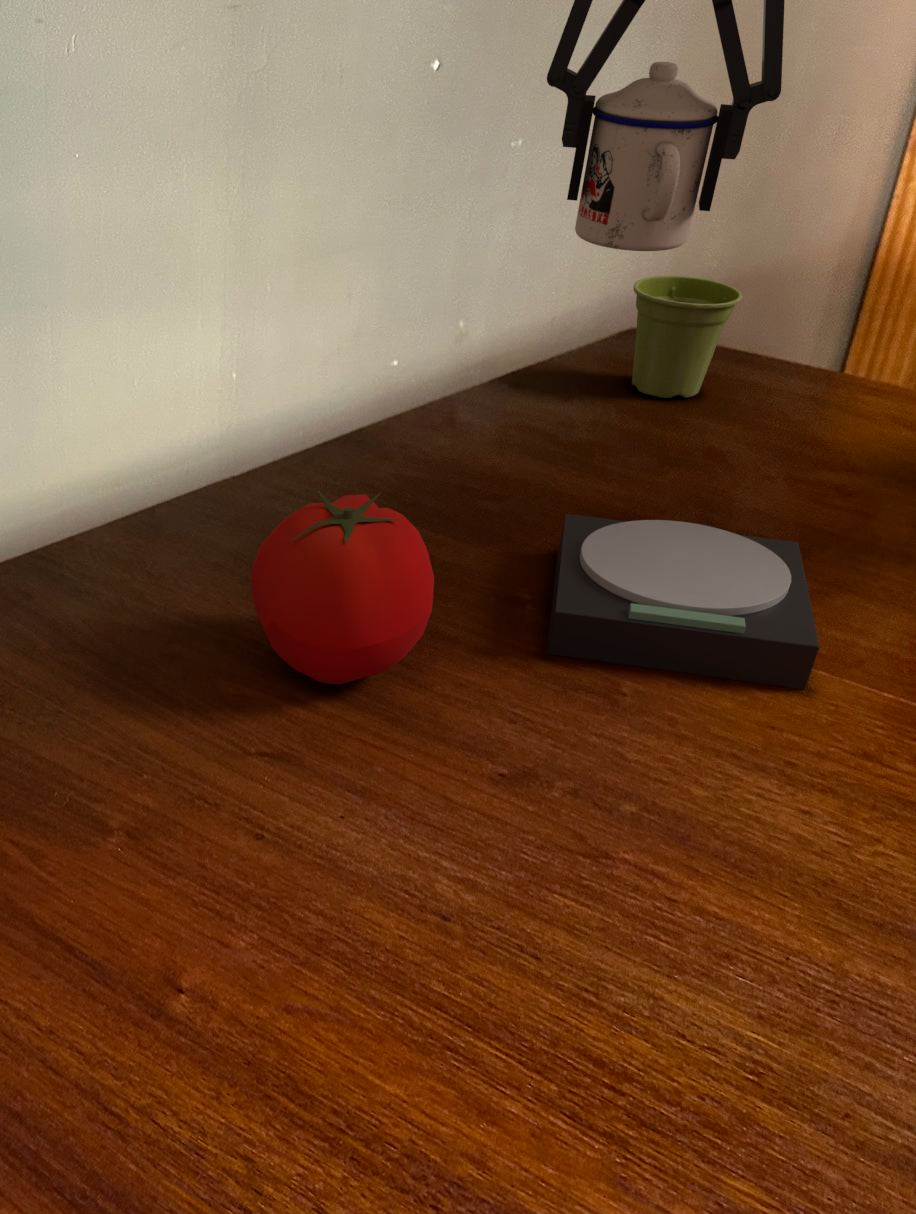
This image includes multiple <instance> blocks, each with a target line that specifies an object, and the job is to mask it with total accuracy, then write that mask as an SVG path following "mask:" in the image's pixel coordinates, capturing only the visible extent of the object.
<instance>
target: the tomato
mask: <svg viewBox="0 0 916 1214" xmlns="http://www.w3.org/2000/svg"><path fill="white" fill-rule="evenodd" d="M315 491H316V493H317V495H318V496H319V497H320V499H321V501H322V502H311V503H309V504H307V505H305V506H303V507H301V508H299V509H298V510H296V511H294V512H292V513H290V514H289V515H287V516H286V517H284V518H283V520H282V521H281V522H279V523H278V525H277V526H275V528H274V529H273V530H272V531H271V533H270V534H268V536H267V537H266V539H265V540H264V541H263V542H262V543H261V544H260V546H259V548H258V551H257V553H256V556H255V558H254V561H253V565H252V568H251V570H250V585H251V593H252V600H253V608H254V611H255V613H256V615H257V617H258V620H259V623H260V624H261V626H262V629H263V631H264V633H265V635H266V638H267V640H268V643H269V644H270V647H271V648H272V650H274V652H275V653H276V655H278V657H279V658H281V659H282V660H283V661H284V662H285V663H286V664H287V665H289V666H290V667H291V668H292V669H293V670H294V671H297V672H299V673H301V674H303V675H305V676H307V677H309V678H311V679H313V680H315V681H316V682H319V683H322V684H331V685H339V686H340V685H343V684H347V683H351V682H354V681H358V680H360V679H364V678H369V677H373V676H375V675H379V674H382V673H383V672H386V671H387V670H390V668H392V667H393V666H395V665H396V664H398V663H399V662H400V661H402V660H404V658H406V656H407V655H408V654H409V652H410V651H411V650H412V649H413V648H414V646H415V645H416V644H417V643H418V642H419V640H420V639H421V638H422V637H423V635H424V634H425V630H426V628H427V625H428V622H429V619H430V617H431V615H432V612H433V605H434V604H433V603H434V590H435V589H434V588H435V575H434V571H433V567H432V563H431V559H430V554H429V551H428V549H427V546H426V544H425V542H424V540H423V537H422V535H421V533H420V531H419V530H418V529H417V528H416V527H415V526H414V524H412V522H410V520H409V519H408V518H407V517H405V515H403V514H402V513H400V512H398V511H395V510H394V509H392V508H390V507H379V506H378V505H377V504H376V503H375V501H376V500H377V499H378V497H379V496H380V495H381V494H382V493H383V491H380V492H378V493H377V494H376V495H375V496H374V497H372V498H370V497H369V496H368V495H367V494H349V495H347V494H346V495H345V494H344V495H342V496H340V497H339V498H338V499H335V500H334V501H333V502H331V501H330V500H329V499H328V498H327V497H326V496H325V495H324V494H323V493H322V492H321V491H319V490H315Z"/></svg>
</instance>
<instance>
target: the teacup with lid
mask: <svg viewBox="0 0 916 1214" xmlns="http://www.w3.org/2000/svg"><path fill="white" fill-rule="evenodd" d="M678 73H679V67H678V64H676V63H675V62H671V61H670V62H669V61H655V62H653V63H652V64H651V65H650V67H649V71H648V77H643V78H639V79H636V80H634V81H632V82H631V83H629V84H627V85H626V86H625V87H622V88H621V89H619V90H617V91H614V92H610V93H605V94H603V95H601V96H600V97H599V98H598V99H597V100H596V101H595V103H594V108H593V114H592V115H593V116H594V119H593V125H592V130H591V135H590V141H589V147H588V152H587V159H586V164H585V170H584V176H583V181H582V186H581V191H580V197H579V203H578V204H579V205H578V211H577V215H576V219H575V226H574V231H575V233H576V235H577V236H578V238H580V239H582V240H583V241H585V242H587V243H589V244H592V245H596V246H598V247H599V246H600V247H603V248H608V249H613V250H621V251H630V252H631V251H632V252H661V251H667V250H673V249H676V248H679V247H681V246H683V245H685V244H686V242H687V241H688V238H689V235H690V231H691V226H692V223H693V222H692V221H693V217H694V213H695V209H696V203H697V199H698V195H699V191H700V186H701V181H702V177H703V173H704V168H705V164H706V161H707V160H706V159H707V155H708V150H709V145H710V141H711V137H712V133H713V128H714V125H716V124H717V121H718V114H719V111H718V107H717V105H716V104H715V103H714V102H712V101H711V100H708V99H706V98H704V97H702V96H700V95H698V93H697V92H696V91H695V90H693V88H692V87H691V86H690V85H689V84H688V83H686V82H684V81H682V80H679V79H677V76H678Z"/></svg>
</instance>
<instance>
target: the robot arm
mask: <svg viewBox="0 0 916 1214" xmlns="http://www.w3.org/2000/svg"><path fill="white" fill-rule="evenodd" d="M593 1H594V0H574V1H573V3H572V6H571V9H570V12H569V14H568V17H567V19H566V23H565V25H564V28H563V30H562V33H561V36H560V39H559V42H558V45H557V47H556V50H555V52H554V55H553V58H552V60H551V64H550V66H549V69H548V72H547V74H546V82H547V84H548V85H549V86H550V87H552V88H556V89H557V90H559V91H561V92H563V93H564V94H565V95H566V98H567V103H566V104H567V105H566V111H565V117H564V122H563V129H562V130H563V131H562V135H561V143H562V147H563V148H573V149H575V151H574V155H573V156H574V157H573V161H572V168H571V173H570V174H571V175H570V181H569V185H568V191H567V197H566V200H567V201H577V202H578V199H579V198H578V197H579V193H580V192H579V191H580V187H581V181H582V176H583V170H584V164H585V158H586V153H587V147H588V142H589V136H590V130H591V125H592V120H593V115H594V114H593V108H594V107H595V104H596V98H597V97H596V95H592V94H587V92H588V91H589V89H590V87H591V86H592V84H593V83H594V81H595V80H596V78H597V76H598V75H599V73H600V72H601V70H602V69H603V67H604V65H605V64H606V62H607V61H608V59H609V58H610V56H611V55H612V53H613V51H614V50H615V49H616V47H617V45H618V43H619V42H620V41H621V39H622V37H623V35H625V32H626V31H627V30H628V28H629V26H630V25H631V23H632V22H633V20H634V19H635V17H636V15H637V14H638V12H639V11H640V10H641V8H642V6H643V5H644V4H645V2H646V0H622V1H621V3H620V4H619V6H618V7H617V9H616V11H615V12H614V13H613V15H612V17H611V18H610V20H609V22H608V23H607V24H606V26H605V28H604V29H603V31H602V32H601V34H600V36H599V37H598V38H597V40H596V42H595V44H594V45H593V47H592V49H591V50H590V52H588V53H589V54H588V55H587V56H586V58H585V59H584V61H583V63H582V64H581V66H580V67H579V69H578V71H574V70H572V69H570V68H568V67H569V66H570V62H571V59H572V57H573V55H574V52H575V49H576V47H577V43H578V40H579V38H580V36H581V32H582V30H583V28H584V25H585V22H586V19H587V18H588V17H587V16H588V14H589V11H590V9H591V7H592V5H593ZM711 2H712V7H713V11H714V16H715V17H714V18H715V21H716V25H717V30H718V35H719V39H720V44H721V49H722V54H723V57H724V58H723V59H724V62H725V68H726V71H727V76H728V80H729V86H730V90H731V94H732V102H731V104H725V103H724V104H723V103H721V104H720V106H719V111H718V114H717V116H718V121H717V122H716V123H715V129H714V133H713V138H712V141H711V147H710V151H709V154H708V155H709V156H708V159H707V164H706V168H705V173H704V177H703V180H702V187H701V189H700V190H701V191H700V194H699V198H698V209H699V211H700V212H701V211H702V212H711V208H712V203H713V199H714V195H715V191H716V187H717V182H718V178H719V174H720V170H721V166H722V165H721V164H722V160H733V161H734V160H736V159H737V157H738V155H739V154H740V151H741V148H742V143H743V139H744V136H745V135H744V134H745V132H746V127H747V123H748V117H749V115H750V112H751V111H752V109H753V108H754V107H756V106H757V105H761V104H764V103H767V102H773V101H776V100H777V99H779V97H780V95H781V94H782V93H781V92H782V78H783V77H782V75H783V55H784V53H783V52H784V51H783V50H784V30H785V29H784V25H785V24H784V23H785V3H786V1H785V0H763V13H762V14H763V15H762V17H763V18H762V20H763V21H762V45H761V46H762V49H761V80H759V81H755V82H752V83H750V79H749V75H748V74H749V73H748V70H747V66H746V60H745V56H744V52H743V51H744V50H743V46H742V41H741V36H740V32H739V27H738V23H737V18H736V14H735V9H734V3H733V0H711Z"/></svg>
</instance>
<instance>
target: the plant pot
mask: <svg viewBox="0 0 916 1214" xmlns="http://www.w3.org/2000/svg"><path fill="white" fill-rule="evenodd" d="M633 292H634V293H635V295H636V297H635V298H636V301H635V307H636V310H637V317H636V319H637V320H636V331H635V343H634V353H633V354H634V356H633V365H632V366H633V367H632V374H631V375H632V376H631V377H632V378H631V385H632V386H633V387H636V388H637V390H638V392H640V393H641V394H644V395H648V396H654V397H657V398H661V399H671V398H673V397H676V396H681V397H683V398H686V399H687V398H691V397H694V396H696V395H697V394H699V392H700V390H701V387H702V385H703V382H704V379H705V377H706V374H707V371H708V369H709V366H710V364H711V361H712V359H713V357H714V353H715V350H716V348H717V345H718V343H719V341H720V337H721V335H722V332H723V330H724V328H725V325H726V322H727V321H728V320H729V319H730V317H731V315H732V313H733V311H734V309H735V306H737V305H738V304H739V303H740V302H741V301H742V298H743V294H742V292H741V291H740V290H739V289H737V288H736V287H734V286H732V285H728V284H726V283H725V282H720V281H717V280H713V279H707V278H702V277H694V276H684V275H657V276H649V277H644V278H641V279H639V280H638V279H637V281H635V282H634V284H633Z"/></svg>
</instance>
